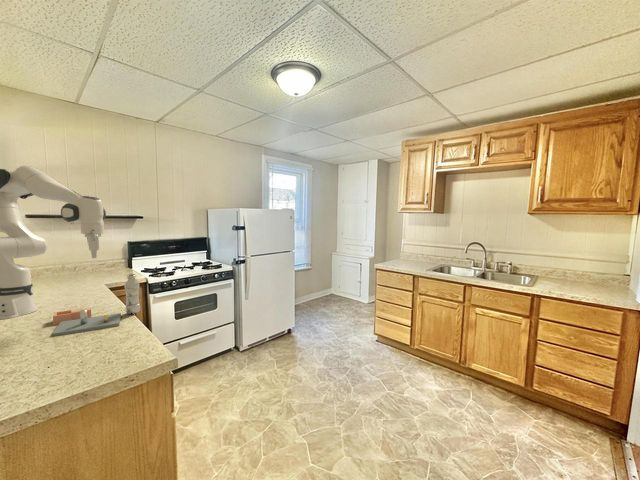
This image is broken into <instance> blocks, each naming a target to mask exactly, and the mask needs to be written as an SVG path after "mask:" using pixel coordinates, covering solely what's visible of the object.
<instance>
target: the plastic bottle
mask: <svg viewBox="0 0 640 480" xmlns="http://www.w3.org/2000/svg"><path fill="white" fill-rule="evenodd" d="M126 280H127V281H126V282H125V284H124V290H125V302H126V303H125V309H124V310H125V313H126V314H127V315H133V314H137V313H139V312H140V311H141V304H140V299H139V291H140V283H139V281H138V280H137V274H133V273H131V274H128V275H127V277H126ZM131 313H132V314H131Z"/></svg>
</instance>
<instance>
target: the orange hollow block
mask: <svg viewBox="0 0 640 480" xmlns="http://www.w3.org/2000/svg"><path fill="white" fill-rule="evenodd" d="M81 310H87V318H90V317H92V308H91V307H85V308H80V309H69V310H63V311H61V310H60V311H56V312H55V311H54V313H53V315H52V321H53V323H52V324H53V326H54V325H59V324H60V322H62V321H69V320H76V319H80V311H81Z"/></svg>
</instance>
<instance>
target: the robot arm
mask: <svg viewBox="0 0 640 480" xmlns="http://www.w3.org/2000/svg"><path fill="white" fill-rule="evenodd" d="M32 196H36V197H38V198H40V199H44V200H50V201H51V200H52V201H58V202H64V203H65V204H64V205H63V206H62V207H61V208H60V215H61V218H62V219H63V220H64V221H65V222H67V223H74V224H76V223H77V224H78V223H80V234H83V235H84V237H85V238H86V241H87V245H88V246H87V247H88V250H89V251H90V253H91V259H97V257H98V256H97V255H98V254H97V252H98V251H99V250H100V239H99V238H100V237H102V234H105V222H104V220H105V218H106V216H107V212H106V209H105V208H104V206H103V202H102V199H101V198H99V197H95V196H89V195H83V196H82V195H81V194H79V193H78V192H76V191H75V190H73V189H71V188H69V187H67V186H65V185H64V184H61V183H60V182H58V181H56V180H55V179H54V178H52V177H51V176H50V175H48V174H47V173H45V172H44V171H42V170H40V169H38V168H37V167H34V166H30V165H22V166H19V167H17V168H16V169H15V170H14V171H10V170H7V169H4V168H0V232H1V233H4V234H6V235H8V236H0V320H7V319H9V320H10V319H14V318H17V317H21V316H24V315H28V314H31V313H35V312H36V311H38V307H37V305H36V302H35V299H34V285H33V283H32V275H31V274H32V273H31V270H30V268H29V267H27V266H25V265H22V264H19V263H18V264H17V263H15V262H14V259H18V258H19V259H21V258H30V257H37V256H40V255H43V254H45V253H46V252H47V250H48V248H49V247H48V246H49V244H48V242H47V239H45V238H44V237H42V236H40V235H37V234H36V233H35V232H32V231H31V230H30V228H28V227H27V225H26V224H25V223H24V221H23V217H22V215H21V210H20V207H19V205H18V200H19V198H20V199H24V200H25V199H27V198H29V197H32Z"/></svg>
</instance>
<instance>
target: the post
mask: <svg viewBox="0 0 640 480" xmlns="http://www.w3.org/2000/svg"><path fill="white" fill-rule="evenodd" d="M108 315H109V314H106V315H105V316H104V315H103V316H104V323H106V322H108ZM80 324H81V325H84V324H87V310H81V311H80Z"/></svg>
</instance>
